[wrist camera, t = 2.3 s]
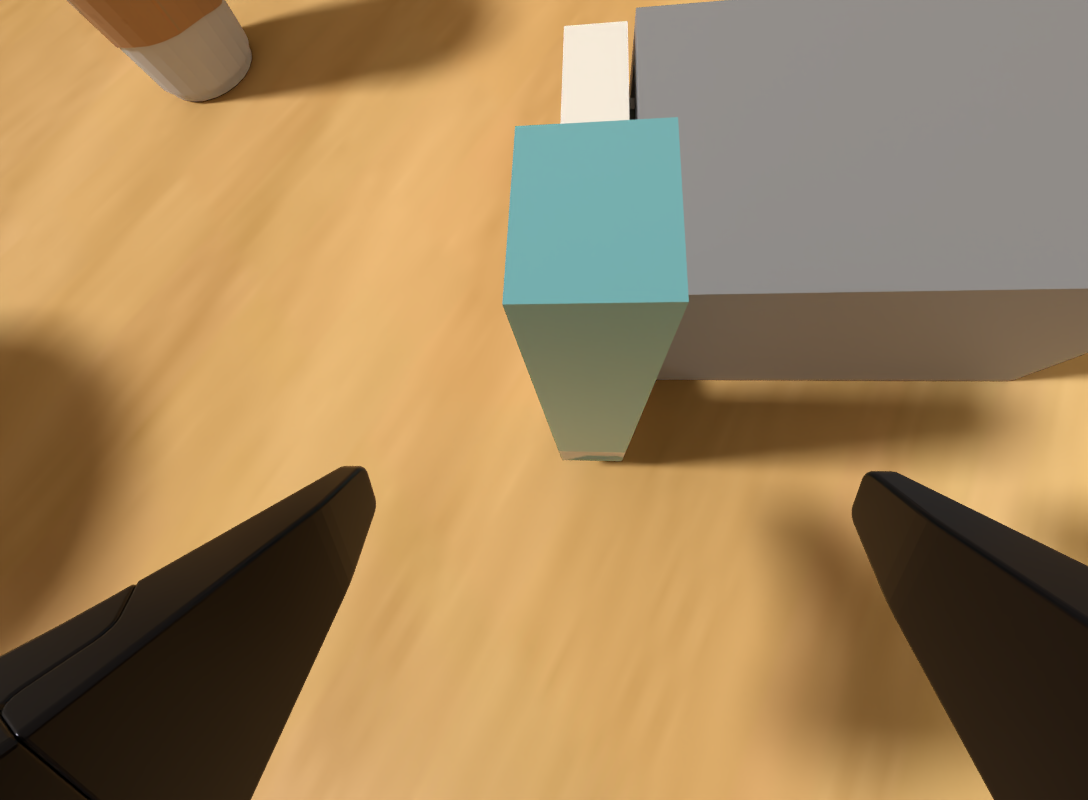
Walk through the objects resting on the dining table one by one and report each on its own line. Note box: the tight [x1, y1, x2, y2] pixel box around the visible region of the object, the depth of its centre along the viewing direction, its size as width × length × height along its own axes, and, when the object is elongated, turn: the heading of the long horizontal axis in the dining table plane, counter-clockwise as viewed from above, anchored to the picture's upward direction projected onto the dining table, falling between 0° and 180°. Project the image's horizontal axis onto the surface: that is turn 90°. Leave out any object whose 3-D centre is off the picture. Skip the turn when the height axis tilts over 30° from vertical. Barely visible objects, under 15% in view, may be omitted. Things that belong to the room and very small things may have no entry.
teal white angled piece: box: [503, 21, 689, 461], centre depth 13 cm, size 17×16×13 cm
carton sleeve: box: [629, 0, 1088, 381], centre depth 18 cm, size 16×12×8 cm
